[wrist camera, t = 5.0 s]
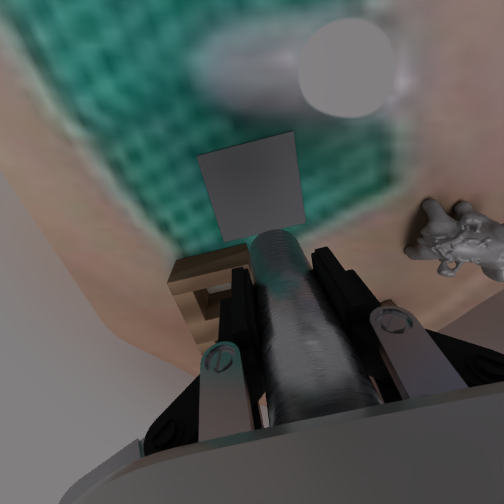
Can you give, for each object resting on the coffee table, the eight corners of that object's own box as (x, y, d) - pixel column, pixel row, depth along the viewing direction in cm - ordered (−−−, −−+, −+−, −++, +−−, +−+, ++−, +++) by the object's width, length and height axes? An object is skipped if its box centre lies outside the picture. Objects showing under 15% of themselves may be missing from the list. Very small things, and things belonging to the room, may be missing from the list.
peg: (243, 236, 14) (262, 442, 5) (296, 223, 14) (409, 413, 5) (255, 279, 15) (286, 496, 6) (302, 267, 15) (399, 475, 6)
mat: (197, 155, 25) (196, 156, 25) (292, 131, 25) (293, 131, 24) (224, 240, 30) (224, 242, 30) (304, 221, 30) (305, 222, 29)
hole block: (176, 260, 31) (166, 283, 26) (246, 243, 30) (248, 264, 26) (214, 346, 38) (211, 375, 34) (270, 333, 38) (275, 361, 34)
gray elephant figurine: (401, 202, 30) (445, 229, 23) (510, 173, 28) (591, 192, 22) (401, 264, 34) (438, 302, 28) (495, 242, 33) (558, 275, 26)
